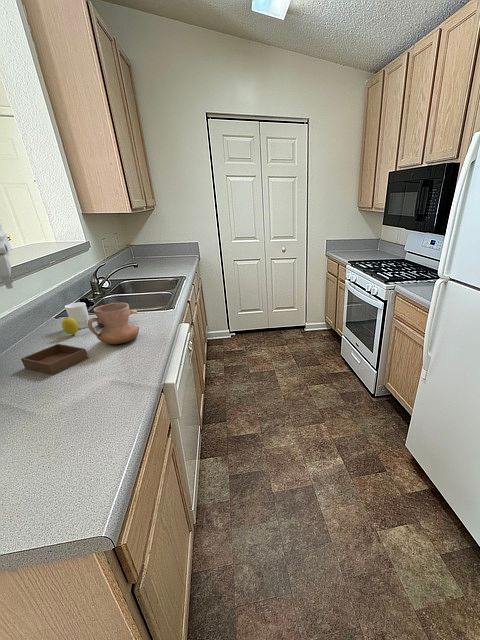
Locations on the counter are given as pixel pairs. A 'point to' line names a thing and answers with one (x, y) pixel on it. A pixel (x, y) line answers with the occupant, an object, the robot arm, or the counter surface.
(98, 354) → the counter surface
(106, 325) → the ceramic jug
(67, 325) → the lemon
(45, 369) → the tray
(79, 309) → the white cup
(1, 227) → the robot arm
